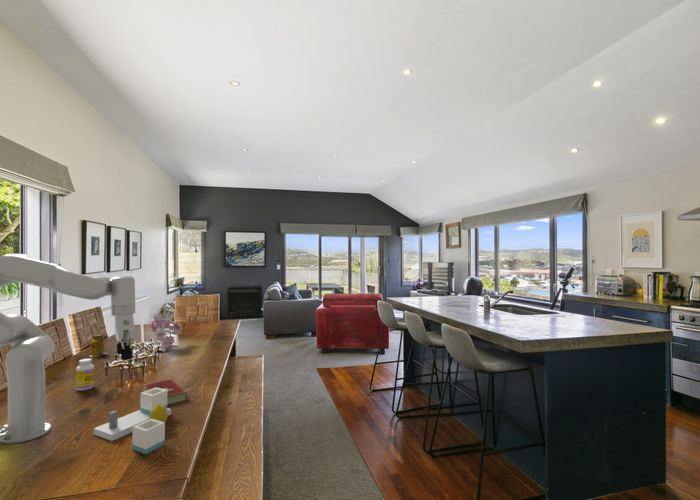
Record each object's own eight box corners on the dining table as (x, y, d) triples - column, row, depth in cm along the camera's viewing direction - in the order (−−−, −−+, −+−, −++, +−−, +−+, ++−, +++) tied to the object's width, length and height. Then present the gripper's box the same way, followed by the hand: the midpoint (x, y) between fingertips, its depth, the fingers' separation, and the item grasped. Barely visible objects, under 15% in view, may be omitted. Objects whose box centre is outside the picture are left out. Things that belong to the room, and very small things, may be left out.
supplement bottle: (84, 391, 160) (84, 362, 160) (71, 390, 161) (72, 361, 161) (97, 386, 167) (97, 358, 167) (85, 385, 168) (85, 357, 168)
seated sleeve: (151, 415, 133) (151, 395, 133) (140, 411, 135) (140, 392, 136) (167, 408, 138) (167, 390, 139) (155, 405, 141) (156, 387, 141)
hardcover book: (171, 387, 167) (171, 377, 167) (186, 401, 152) (187, 390, 152) (142, 393, 159) (142, 384, 159) (155, 409, 144) (155, 398, 144)
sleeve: (145, 454, 110) (146, 431, 111) (132, 449, 113) (132, 426, 113) (165, 444, 116) (165, 422, 116) (151, 439, 119) (152, 418, 119)
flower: (194, 346, 233) (188, 309, 241) (161, 350, 214) (154, 310, 222) (176, 355, 242) (170, 320, 250) (142, 360, 223) (137, 321, 231)
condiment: (87, 356, 215) (87, 336, 215) (101, 352, 223) (101, 333, 223) (96, 357, 212) (96, 337, 212) (110, 353, 220) (110, 334, 220)
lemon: (163, 422, 131) (163, 400, 131) (170, 427, 128) (170, 404, 128) (146, 428, 127) (147, 405, 127) (153, 433, 123) (153, 409, 123)
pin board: (111, 441, 118) (112, 419, 118) (93, 434, 122) (93, 413, 123) (171, 414, 138) (171, 395, 138) (153, 409, 142) (153, 391, 142)
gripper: (139, 311, 129) (140, 359, 129) (130, 306, 142) (131, 349, 142) (115, 314, 124) (115, 364, 124) (108, 308, 138) (108, 353, 137)
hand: (124, 356), depth 133 cm, fingers open, 9 cm apart
